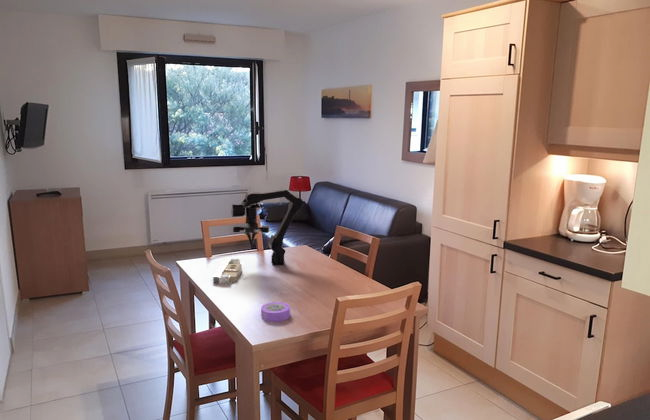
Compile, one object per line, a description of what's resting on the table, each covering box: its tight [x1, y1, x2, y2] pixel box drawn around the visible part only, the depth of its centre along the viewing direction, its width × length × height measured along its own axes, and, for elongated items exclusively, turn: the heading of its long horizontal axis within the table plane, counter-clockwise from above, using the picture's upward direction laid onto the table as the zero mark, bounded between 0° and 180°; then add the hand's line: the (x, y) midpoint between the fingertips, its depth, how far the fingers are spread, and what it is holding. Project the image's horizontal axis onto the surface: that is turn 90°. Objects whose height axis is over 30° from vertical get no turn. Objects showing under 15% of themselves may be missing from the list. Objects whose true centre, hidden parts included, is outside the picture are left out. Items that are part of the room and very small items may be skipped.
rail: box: [212, 258, 241, 286], centre depth 245 cm, size 8×31×4 cm, turn 1°
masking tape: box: [260, 301, 291, 323], centre depth 196 cm, size 12×12×4 cm
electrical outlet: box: [222, 263, 243, 283], centre depth 243 cm, size 7×4×18 cm
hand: (251, 244), depth 258 cm, fingers closed
